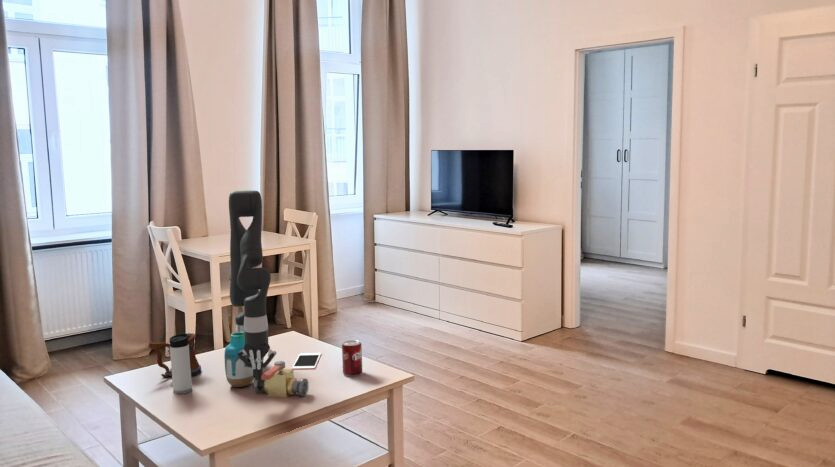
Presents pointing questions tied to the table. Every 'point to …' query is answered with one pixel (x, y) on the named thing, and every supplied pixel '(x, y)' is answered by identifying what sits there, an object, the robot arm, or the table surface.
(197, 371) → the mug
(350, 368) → the soda can
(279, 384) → the valve pipe
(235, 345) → the vase
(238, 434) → the table surface
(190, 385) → the travel mug
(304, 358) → the cell phone
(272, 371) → the lever
